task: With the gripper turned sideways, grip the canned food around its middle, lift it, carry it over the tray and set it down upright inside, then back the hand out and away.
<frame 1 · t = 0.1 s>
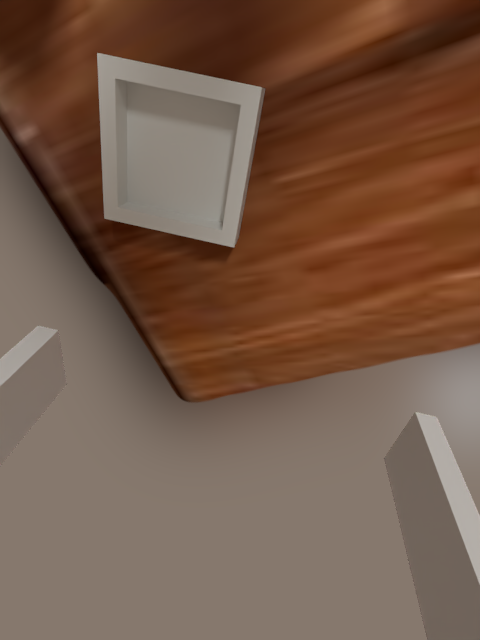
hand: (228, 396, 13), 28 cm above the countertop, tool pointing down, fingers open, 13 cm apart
tray: (183, 156, 35), on the countertop
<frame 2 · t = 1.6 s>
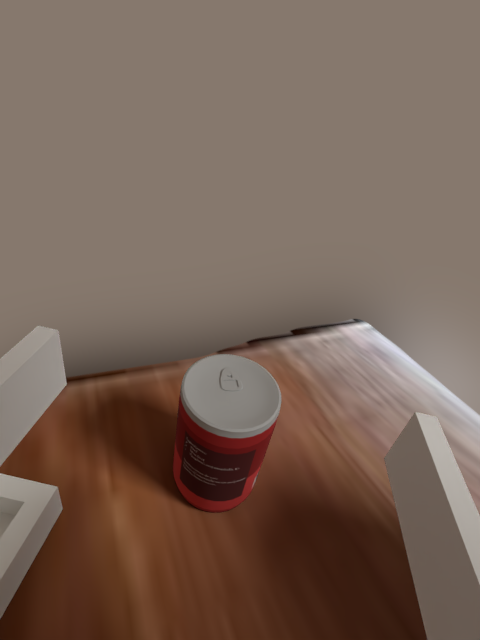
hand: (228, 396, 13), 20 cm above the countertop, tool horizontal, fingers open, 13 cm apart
canned food: (213, 473, 32), on the countertop
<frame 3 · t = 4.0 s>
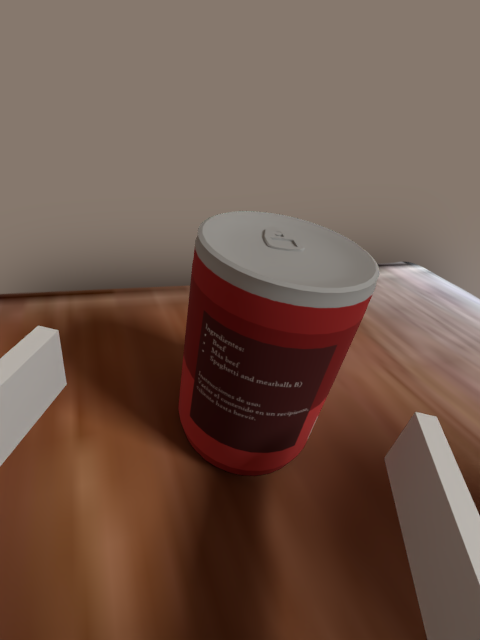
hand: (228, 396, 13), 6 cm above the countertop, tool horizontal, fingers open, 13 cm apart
canned food: (241, 419, 21), on the countertop
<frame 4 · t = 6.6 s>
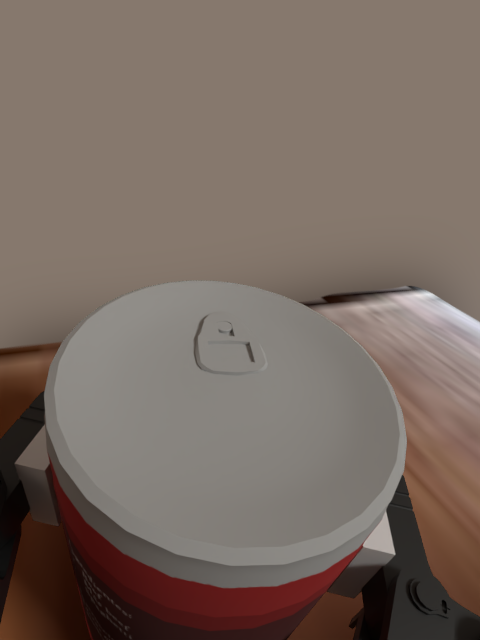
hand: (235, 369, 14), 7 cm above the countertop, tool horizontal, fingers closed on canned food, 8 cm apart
canned food: (189, 571, 14), on the countertop, touching gripper
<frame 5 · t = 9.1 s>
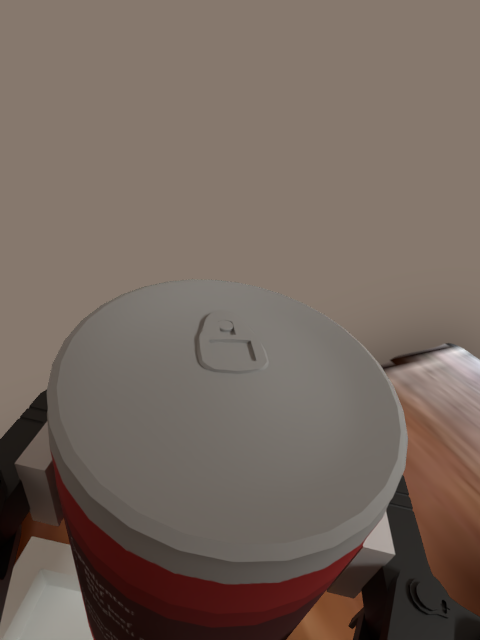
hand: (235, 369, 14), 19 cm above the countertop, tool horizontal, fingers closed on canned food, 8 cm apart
canned food: (190, 569, 14), point 12 cm above the countertop, touching gripper
when the fingers open (9 cm above the countertop, at t = 12.0 s): canned food drops 2 cm, resting on tray.
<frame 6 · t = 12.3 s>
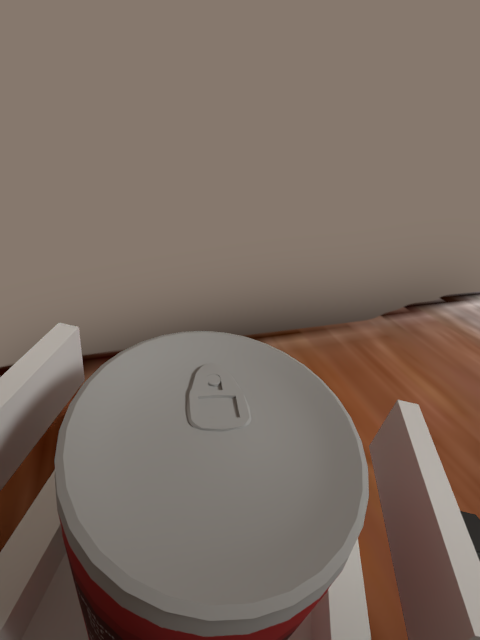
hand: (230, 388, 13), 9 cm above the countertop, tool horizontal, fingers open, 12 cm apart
tray: (184, 595, 15), on the countertop
canned food: (185, 590, 15), point 1 cm above the countertop, touching tray
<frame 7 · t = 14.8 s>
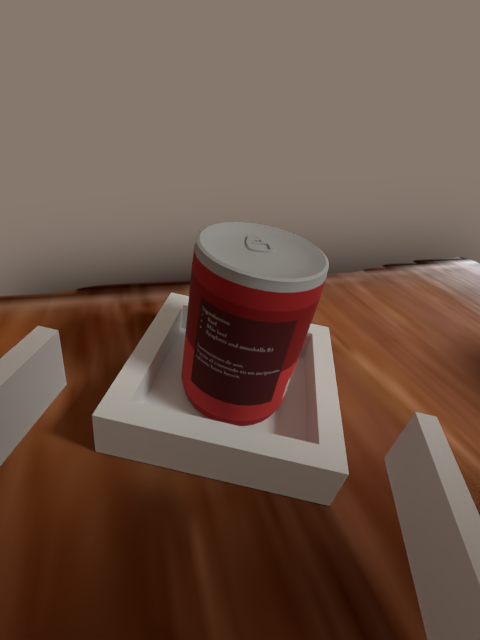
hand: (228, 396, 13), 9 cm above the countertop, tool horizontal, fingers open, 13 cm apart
tray: (231, 393, 26), on the countertop
canned food: (232, 387, 26), point 1 cm above the countertop, touching tray
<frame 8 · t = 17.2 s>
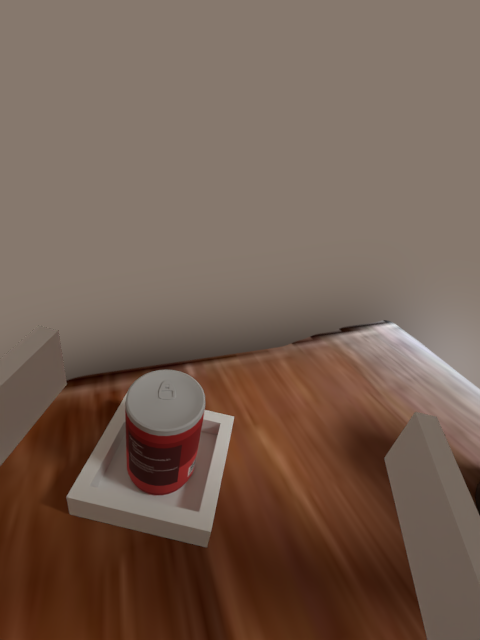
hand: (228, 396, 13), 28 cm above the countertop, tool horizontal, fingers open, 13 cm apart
tray: (161, 467, 40), on the countertop
canned food: (161, 464, 40), point 1 cm above the countertop, touching tray
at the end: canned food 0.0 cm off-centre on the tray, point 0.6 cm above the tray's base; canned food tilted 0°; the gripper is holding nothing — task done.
